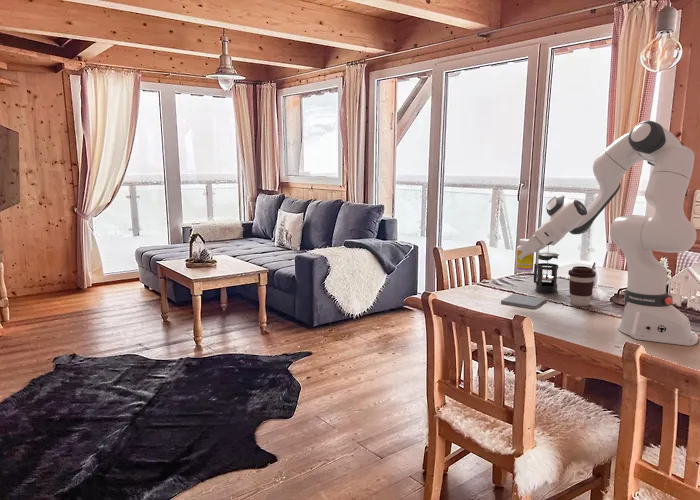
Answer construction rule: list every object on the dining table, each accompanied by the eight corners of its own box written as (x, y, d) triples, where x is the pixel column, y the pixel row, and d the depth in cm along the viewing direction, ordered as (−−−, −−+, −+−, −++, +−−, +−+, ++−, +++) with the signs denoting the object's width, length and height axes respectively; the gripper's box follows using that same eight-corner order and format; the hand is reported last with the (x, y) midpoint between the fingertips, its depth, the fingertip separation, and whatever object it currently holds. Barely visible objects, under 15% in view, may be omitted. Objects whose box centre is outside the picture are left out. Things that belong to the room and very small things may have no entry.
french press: (563, 292, 221) (566, 240, 217) (549, 295, 216) (552, 242, 212) (541, 287, 231) (543, 237, 227) (527, 289, 226) (529, 239, 222)
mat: (546, 301, 206) (546, 298, 206) (535, 309, 196) (535, 306, 196) (512, 296, 215) (513, 293, 215) (500, 303, 205) (501, 300, 205)
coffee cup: (577, 308, 196) (579, 270, 194) (561, 301, 206) (563, 266, 204) (599, 306, 198) (601, 269, 196) (582, 299, 208) (584, 264, 206)
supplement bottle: (533, 272, 199) (535, 241, 197) (516, 272, 201) (518, 241, 198) (531, 269, 206) (532, 238, 204) (514, 268, 207) (515, 238, 205)
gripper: (551, 225, 204) (527, 247, 212) (534, 231, 188) (508, 254, 196) (562, 237, 202) (537, 258, 210) (546, 243, 186) (519, 266, 194)
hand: (523, 256), depth 203 cm, fingers closed on supplement bottle, 7 cm apart
